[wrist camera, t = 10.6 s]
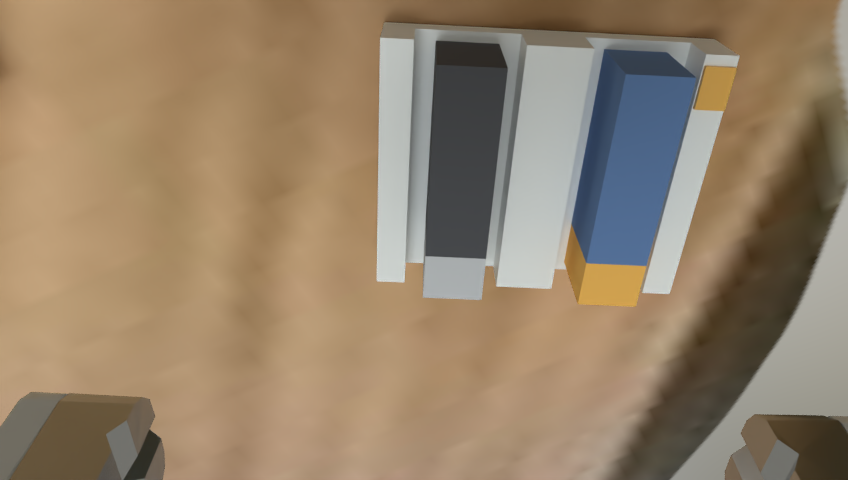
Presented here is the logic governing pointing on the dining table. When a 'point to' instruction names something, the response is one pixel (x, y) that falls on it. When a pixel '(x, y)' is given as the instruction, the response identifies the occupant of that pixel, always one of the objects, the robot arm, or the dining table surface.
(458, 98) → the dark grey square rod
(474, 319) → the dining table surface
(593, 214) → the blue bar yellow end
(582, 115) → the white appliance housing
